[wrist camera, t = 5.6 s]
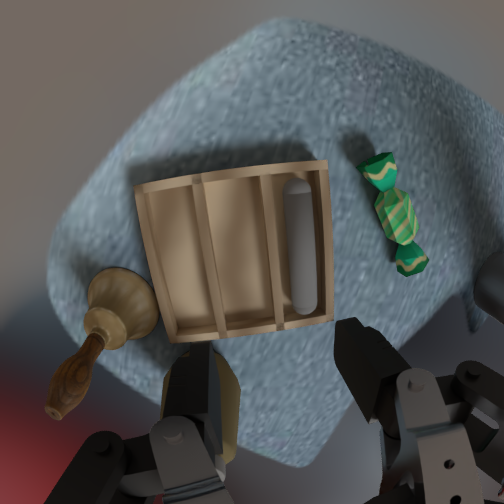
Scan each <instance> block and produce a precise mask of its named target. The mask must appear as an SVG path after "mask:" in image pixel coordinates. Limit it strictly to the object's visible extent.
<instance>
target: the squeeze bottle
mask: <svg viewBox="0 0 504 504" xmlns="http://www.w3.org/2000/svg"><path fill="white" fill-rule="evenodd" d="M189 352H190V351H189ZM189 352H187V353H185V354H184V355H182V356H181V357H187V356H189ZM214 355H215V360H216V364H217V368H218V373H219V379H220V392H221V419H222V441H223V454H220V455H215V469H216V471H217V473H218V474H219V476H220V478H221V480H222V482H223V481H224V479H225V476H226V474H225V464H227V463H228V462H230V461H231V460H233V459H234V456H235V454H236V446H237V433H238V419H239V406H240V393H241V389H240V386H239V382H238V379H237V378H236V376H235V374H234V373H233V371H232V369H231V368H230V366H229V364H228V362H227V361H226V360H225V359H224V358H223V357H222V356H221V355H220V354H217V353H215V352H214ZM171 368H172V367H171ZM171 368H170V370H169V371H168V373H167V374H166V375H165V377H164V380H163V390H162V401H161V413H160V420H161V419H162V417H163V411H164V405H165V400H166V394H167V389H168V387H169V386H168V383H169V378H170V373H171Z"/></svg>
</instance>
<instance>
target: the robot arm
mask: <svg viewBox="0 0 504 504" xmlns="http://www.w3.org/2000/svg"><path fill="white" fill-rule="evenodd" d="M474 300H475V304H476V305H477V306H478V307H479V308H481V309H482V310H483V311H485V312H486V313H488V314H489V315H491V316H492V317H493V318H495V319H496V320H498V321H499V322H500V323H502V324H503V325H504V254H503V253H500V252H495V253H493V254H492V255H490V256H489V257H488V258H487V260H486V261H485V263H484V264H483V266H482V268H481V270H480V272H479V274H478V277H477V280H476V284H475V289H474ZM334 360H335V364H336V366H337V368H338V370H339V372H340V374H341V375H342V377H343V379H344V381H345V383H346V384H347V386H348V388H349V390H350V392H351V393H352V395H353V397H354V399H355V401H356V402H357V404H358V406H359V408H360V410H361V411H362V413H363V415H364V417H365V419H366V421H367V422H368V424H371V423H374V422H377V421H379V422H380V424H381V425H382V426H381V429H380V444H381V457H382V481H381V484H380V489H379V495H378V496H376V497H373V498H372V499H370V500H369V501H367V502H366V503H364V504H504V503H501V502H495V501H490V500H485V499H483V494H482V489H481V484H480V480H479V475H478V471H477V467H479V468H480V469H481V470H483V471H484V472H485V473H486V474H488V475H489V476H490V477H492V478H493V479H494V480H495V481H497V482H498V483H500V484H501V488H500V490H499V492H498V497H499V498H500V499H504V377H503V376H502V375H500V374H498V373H497V372H495V371H493V370H492V369H490V368H488V367H487V366H484V365H483V364H482V363H480V362H477V361H464V362H462V363H460V364H459V365H458V366H457V368H456V371H455V373H454V375H448V376H443V377H434V376H433V375H432V374H431V373H430V372H428V371H426V370H423V369H418V368H411V367H410V365H409V364H408V363H407V362H406V361H405V360H404V359H403V357H402V356H401V355H400V354H399V353H398V352H397V351H396V349H395V348H394V347H392V345H391V344H390V343H389V341H387V340H386V338H385V337H384V336H383V335H382V334H381V333H380V332H379V331H377V330H376V329H374V328H372V327H370V326H368V327H364V326H363V325H362V324H361V322H360V321H359V320H358V319H357V318H356V317H352V318H348V319H343V320H339V321H336V324H335V338H334ZM168 386H169V387H168V389H167V394H166V400H165V405H164V411H163V417H162V419H161V420H159V421H157V422H156V423H155V424H154V425H153V426H152V428H151V430H150V433H148V434H146V435H143V436H140V437H135V438H131V439H126V440H122V439H121V437H120V436H119V435H118V434H116V433H114V432H111V431H100V432H96V433H94V434H92V435H91V436H89V437H88V438H87V439H86V440H85V442H84V444H83V445H82V446H81V448H80V449H79V451H78V452H77V454H76V455H75V457H74V458H73V460H72V461H71V463H70V464H69V466H68V467H67V469H66V470H65V472H64V473H63V475H62V476H61V478H60V479H59V481H58V482H57V484H56V485H55V487H54V489H53V490H52V492H51V493H50V495H49V496H48V498H47V500H46V501H45V502H44V504H153V502H154V499H155V497H156V495H157V494H161V493H165V495H163V504H234V502H233V500H232V499H231V497H230V495H229V493H228V491H227V489H226V488H225V486H224V484H223V482H222V480H221V478H220V476H219V474H218V473H217V471H216V469H215V455H220V454H223V441H222V419H221V392H220V379H219V373H218V368H217V364H216V360H215V355H214V351H213V347H212V343H211V341H205V342H195V343H191V345H190V352H189V356H187V357H179V358H178V359H177V360H176V362H175V363H174V364H173V365H172V368H171V373H170V378H169V383H168ZM474 407H476V408H478V409H479V410H480V411H482V412H483V413H485V414H486V415H488V416H489V417H491V418H492V419H493V420H495V421H496V422H497V423H498V425H499V429H493V428H491V427H489V426H488V425H487V424H485V423H484V422H482V421H481V420H479V419H478V418H476V417H475V416H474V415H473V414H471V412H472V411H473V409H474ZM476 466H477V467H476Z"/></svg>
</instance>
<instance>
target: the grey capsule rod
mask: <svg viewBox="0 0 504 504" xmlns="http://www.w3.org/2000/svg"><path fill="white" fill-rule="evenodd" d="M282 195H283V205H284V215H285V225H286V236H287V248H288V260H289V273H290V286H291V300H292V307H293V309H294V310H295V311H296V312H297V313H299V314H302V315H306V314H310V313H311V312H313V311H314V310H315V308H316V306H317V272H316V251H315V233H314V218H313V205H312V193H311V188H310V185H309V184H308V183H307V182H306V181H305V180H304V179H301V178H292V179H290V180H288V181H287V182H286V183H285V184H284V186H283V190H282Z"/></svg>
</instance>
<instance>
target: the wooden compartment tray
mask: <svg viewBox="0 0 504 504" xmlns="http://www.w3.org/2000/svg"><path fill="white" fill-rule="evenodd" d="M292 178H301V179H304V180H305V181H306V182H307V183H308V184H309V185H310V188H311V193H312V205H313V218H314V233H315V251H316V272H317V306H316V308H315V310H314V311H313V312H311V313H310V314H306V315H302V314H299V313H297V312H296V311H295V310H294V309H293V307H292V300H291V286H290V273H289V260H288V248H287V236H286V225H285V215H284V205H283V195H282V190H283V186H284V184H285V183H286V182H287V181H288V180H290V179H292ZM133 187H134V193H135V199H136V205H137V211H138V216H139V222H140V227H141V232H142V237H143V242H144V247H145V251H146V256H147V260H148V264H149V269H150V273H151V277H152V281H153V285H154V289H155V293H156V297H157V300H158V304H159V308H160V311H161V315H162V318H163V321H164V325H165V328H166V332H167V335H168V338H169V341H170V344H171V343H184V342H195V341H205V340H214V339H223V338H231V337H239V336H246V335H254V334H261V333H267V332H274V331H280V330H286V329H292V328H298V327H303V326H309V325H314V324H319V323H324V322H329V321H334V261H333V233H332V214H331V199H330V186H329V174H328V164H327V160H316V161H302V162H289V163H278V164H268V165H258V166H250V167H241V168H233V169H226V170H219V171H212V172H205V173H199V174H192V175H186V176H181V177H175V178H169V179H164V180H159V181H154V182H149V183H144V184H139V185H134V186H133Z"/></svg>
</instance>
